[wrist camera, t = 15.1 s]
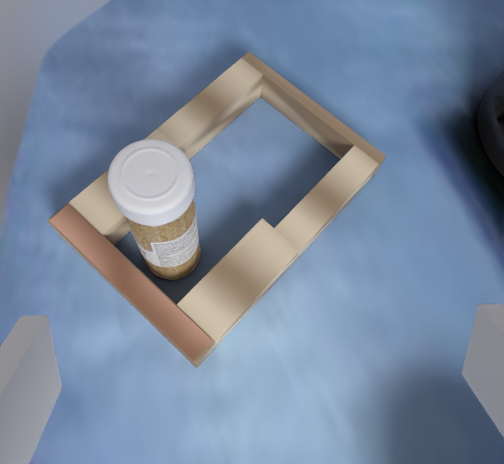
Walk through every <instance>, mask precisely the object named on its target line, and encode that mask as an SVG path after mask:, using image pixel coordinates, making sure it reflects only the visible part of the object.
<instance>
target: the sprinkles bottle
mask: <svg viewBox="0 0 504 464" xmlns="http://www.w3.org/2000/svg"><path fill="white" fill-rule="evenodd" d="M108 187H109V190H110V193H111V195H112V197H113V200H114V202H115V204H116V205H117V207H118V209H119V210H120V211H121V213H122V214H123V215H124V216H125V217H126V219H127V222H128V224H129V227H130V230H131V232H132V235H133V237H134V239H135V241H136V243H137V245H138V247H139V250H140V252H141V253H142V255H143V257H144V261H145V263H146V266H147V267H148V269H149V270H150V271H151V272H152V273H153V274H155V275H156V276H158V277H160V278H164V279H169V280H177V279H180V278H183V277H185V276H187V275H189V274H190V273H191V272H192V271H193V270H194V269H195V268H196V266H197V265H198V263H199V260H200V257H201V247H200V243H199V235H198V225H197V216H196V207H195V203H194V200H193V197H194V193H195V180H194V174H193V169H192V165H191V163H190V161H189V159H188V157H187V156H186V154H185V153H184V152H183V151H182V150H181V149H180V148H179V147H177V146H175V145H174V144H172V143H170V142H167V141H164V140H158V139H145V140H140V141H136V142H134V143H132V144H129V145H128V146H126V147H125V148H123V149H122V150H121V151H120V152H119V153H118V154H117V155H116V156H115V158H114V159H113V161H112V163H111V165H110V167H109V171H108Z"/></svg>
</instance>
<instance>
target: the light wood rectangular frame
mask: <svg viewBox="0 0 504 464" xmlns="http://www.w3.org/2000/svg"><path fill="white" fill-rule="evenodd" d="M259 97H261V98H263V99H264V100H265V101H266V102H268V103H269V104H270V105H272V106H273V107H274V108H275V109H277V110H278V111H279V112H281V113H282V114H283V115H284V116H286V117H287V118H288V119H289V120H291V121H292V122H293V123H295V124H296V125H297V126H298V127H300V128H301V129H302V130H303V131H305V132H306V133H307V134H309V135H310V136H311V137H312V138H314V139H315V140H316V141H318V142H319V143H320V144H321V145H323V146H324V147H325V148H326V149H328V150H329V151H330V152H332V153H333V154H334V155H335V156H337V157H338V158H339V159H341V160H340V161H339V162H338V163H337V164H336V165H335V166H334V167H333V168H332V169H331V170H330V171H329V172H328V173H327V174H326V175H325V176H324V177H323V178H322V180H321V181H320V182H319V183H318V184H317V185H316V186H315V187H314V188H313V189H312V190H311V191H310V192H309V193H308V194H307V195H306V196H305V197H304V198H303V199H302V200H301V201H300V202H299V203H298V204H297V205H296V206H295V207H294V208H293V209H292V210H291V212H290V213H289V214H288V215H287V216H286V217H285V218H284V219H283V220H282V221H281V222H280V223H279V224H278V225H277V226H276V227H275V228H273V227H272V226H271V225H270V224H268V223H267V222H266V221H265V220H264V219H263V218H262V219H261V220H260V221H259V222H258V223H257V224H256V225H255V226H254V227H253V228H252V229H251V230H250V231H249V232H248V233H247V234H246V235H245V236H244V237H243V238H242V239H241V240H240V241H239V242H238V243H237V244H236V245H235V246H234V247H233V248H232V249H231V250H230V251H229V252H228V253H227V254H226V255H225V256H224V257H223V258H222V259H221V260H220V261H219V262H218V263H217V264H216V265H215V266H214V267H213V268H212V269H211V270H210V271H209V273H208V274H207V275H206V276H205V277H204V278H203V279H202V280H201V281H200V282H199V283H198V284H197V285H196V286H195V287H194V288H193V289H192V290H191V291H190V292H189V293H188V294H187V295H186V296H185V297H184V298H183V299H182V300H181V301H180V302H179V303H178V304H177V305H176V304H175V303H174V302H173V301H172V300H171V299H170V298H169V297H168V296H167V295H166V294H165V293H164V292H162V291H161V290H160V289H159V288H158V287H157V286H156V285H155V284H154V283H153V282H152V281H151V280H150V279H149V278H148V277H147V276H146V275H144V274H143V273H142V272H141V271H140V270H139V269H138V268H137V267H136V266H135V265H134V264H133V263H132V262H131V261H130V260H129V259H128V258H126V257H125V256H124V255H123V254H122V253H121V252H120V251H119V250H118V249H117V248H116V247H115V246H114V245H115V244H116V243H118V242H119V241H120V240H121V239H122V238H123V237H124V236H125V235H126V234H127V233H129V232H130V231H131V230H130V227H129V224H128V222H127V219H126V217H125V216H124V215H123V214H122V213H121V211H120V210H119V209H118V207H117V205H116V204H115V202H114V200H113V197H112V195H111V193H110V190H109V187H108V171H109V169H108V170H107V171H106V172H105V173H103V174H102V175H101V176H100V177H99V178H97V179H96V180H95V181H94V182H93V183H91V184H90V185H89V186H88V187H87V188H85V189H84V190H83V191H82V192H81V193H79V194H78V195H77V196H76V197H75V198H74V199H72V200H71V201H70V202H69V203H68V204H66V205H65V206H64V207H63V208H62V209H60V210H59V211H58V212H57V213H56V214H54V215H53V216H52V217H51V218H50V219H48V220H47V221H48V223H49V224H50V225H51V226H52V227H53V228H54V229H55V230H56V232H57V233H58V234H59V235H60V236H61V237H62V238H63V239H64V240H65V241H66V242H67V243H68V244H69V245H70V246H71V247H72V248H73V249H74V250H75V251H76V252H78V253H79V254H80V255H81V256H82V257H83V258H84V259H85V260H86V261H87V262H88V263H89V264H90V265H91V266H92V267H93V268H94V269H95V270H96V271H97V272H98V273H99V274H100V275H101V276H102V277H103V278H104V279H105V280H106V281H107V282H108V283H109V284H110V285H111V286H113V287H114V288H115V289H116V290H117V291H118V292H119V293H120V294H121V295H122V296H123V297H124V298H125V299H126V300H127V301H128V302H129V303H130V304H131V305H132V306H133V307H134V308H135V309H136V310H137V311H138V312H139V313H140V314H141V315H142V316H143V317H144V318H145V319H147V320H148V321H149V322H150V323H151V324H152V325H153V326H154V327H155V328H156V329H157V330H158V331H159V332H160V333H161V334H162V335H163V336H164V337H165V338H166V339H167V340H168V341H169V342H170V343H171V344H172V345H173V346H174V347H175V348H176V349H177V350H178V351H179V352H180V353H182V354H183V355H184V356H185V357H186V358H187V359H188V360H189V361H190V362H191V363H192V364H193V365H194V366H195V367H196V368H197V367H198V366H199V365H200V364H201V363H202V362H203V361H204V359H205V358H206V357H207V356H208V355H209V354H210V353H211V352H212V351H213V350H214V349H215V348H216V346H217V345H218V344H219V343H220V342H221V341H222V340H223V339H224V338H225V337H226V336H227V334H228V333H229V332H230V331H231V330H232V329H233V328H234V327H235V326H236V325H237V324H238V323H239V321H240V320H241V319H242V318H243V317H244V316H245V315H246V314H247V313H248V312H249V311H250V309H251V308H252V307H253V306H254V305H255V304H256V303H257V302H258V301H259V300H260V299H261V297H262V296H263V295H264V294H265V293H266V292H267V291H268V290H269V289H270V288H271V287H272V286H273V284H274V283H275V282H276V281H277V280H278V279H279V278H280V277H281V276H282V275H283V274H284V272H285V271H286V270H287V269H288V268H289V267H290V266H291V265H292V264H293V263H294V262H295V261H296V259H297V258H298V257H299V256H300V255H301V254H302V253H303V252H304V251H305V250H306V249H307V247H308V246H309V245H310V244H311V243H312V242H313V241H314V240H315V239H316V238H317V237H318V236H319V234H320V233H321V232H322V231H323V230H324V229H325V228H326V227H327V226H328V225H329V224H330V222H331V221H332V220H333V219H334V218H335V217H336V216H337V215H338V214H339V213H340V212H341V211H342V209H343V208H344V207H345V206H346V205H347V204H348V203H349V202H350V201H351V200H352V199H353V197H354V196H355V195H356V194H357V193H358V192H359V191H360V190H361V189H362V188H363V187H364V185H365V184H366V183H367V182H368V181H369V180H370V179H371V178H372V177H373V176H374V175H375V173H376V172H377V170H378V169H379V167H380V165H381V164H382V162H383V161H384V159H385V158H386V156H385V155H384V154H383V153H381V152H380V151H379V150H378V149H376V148H375V147H374V146H372V145H371V144H370V143H368V142H367V141H366V140H364V139H363V138H362V137H361V136H359V135H358V134H357V133H355V132H354V131H353V130H351V129H350V128H349V127H347V126H346V125H345V124H343V123H342V122H341V121H340V120H338V119H337V118H336V117H334V116H333V115H332V114H330V113H329V112H328V111H326V110H325V109H324V108H322V107H321V106H320V105H319V104H317V103H316V102H315V101H313V100H312V99H311V98H309V97H308V96H307V95H305V94H304V93H303V92H301V91H300V90H299V89H298V88H296V87H295V86H294V85H292V84H291V83H290V82H288V81H287V80H286V79H284V78H283V77H282V76H281V75H279V74H278V73H277V72H275V71H274V70H273V69H271V68H270V67H269V66H267V65H266V64H265V63H263V62H262V61H261V60H260V59H258V58H257V57H256V56H254V55H253V54H252V53H250V52H248V53H247V54H245V55H244V56H243V57H242V58H241V59H239V60H238V61H237V62H236V63H235V64H233V65H232V66H231V67H230V68H229V69H227V70H226V71H225V72H224V73H223V74H222V75H220V76H219V77H218V78H217V79H216V80H214V81H213V82H212V83H211V84H210V85H208V86H207V87H206V88H205V89H204V90H202V91H201V92H200V93H199V94H198V95H196V96H195V97H194V98H193V99H192V100H190V101H189V102H188V103H187V104H186V105H185V106H183V107H182V108H181V109H180V110H179V111H177V112H176V113H175V114H174V115H173V116H171V117H170V118H169V119H168V120H167V121H165V122H164V123H163V124H162V125H161V126H159V127H158V128H157V129H156V130H155V131H153V132H152V133H151V134H150V135H149V136H148V137H146V138H145V139H158V140H164V141H167V142H170V143H172V144H174V145H175V146H177V147H179V148H180V149H181V150H182V151H183V152H184V153H185V154H186V156H187V157H188V159H189V161H190V159H191V158H192V157H193V156H194V155H195V154H196V153H197V152H198V151H200V150H201V149H202V148H203V147H204V146H205V145H206V144H207V143H209V142H210V141H211V140H212V139H213V138H214V137H215V136H216V135H217V134H219V133H220V132H221V131H222V130H223V129H224V128H225V127H226V126H228V125H229V124H230V123H231V122H232V121H233V120H234V119H235V118H237V117H238V116H239V115H240V114H241V113H242V112H243V111H244V110H246V109H247V108H248V107H249V106H250V105H251V104H252V103H253V102H255V101H256V100H257V99H258V98H259ZM145 139H144V140H145ZM190 163H191V161H190Z"/></svg>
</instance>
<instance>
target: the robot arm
mask: <svg viewBox="0 0 504 464" xmlns="http://www.w3.org/2000/svg"><path fill="white" fill-rule="evenodd" d="M477 123H478V131H479V136H480V140H481V142H482V145H483V148H484V150H485V152H486V154H487V156H488V157H489V159H490V161H491V162H492V163H493V165H494V166H495V167H496V169H497V170H498V171H499V172H500V173H501V174H502V176H503V177H504V71H503V72H502V73H501V74H500V75H499V76H498V78H497V79H496V80H495V81H494V82H493V84H492V85H491V86H490V87H489V89H488V90H487V91H486V93H485V94H484V96H483V98H482V100H481V103H480V106H479V110H478V118H477ZM462 376H463V377H464V379H465V380H466V382H467V383H468V385H469V386H470V388H471V389H472V391H473V392H474V394H475V395H476V397H477V398H478V400H479V401H480V403H481V404H482V406H483V407H484V409H485V410H486V412H487V413H488V415H489V416H490V418H491V419H492V421H493V422H494V424H495V425H496V427H497V428H498V430H499V431H500V433H501V434H502V436H503V437H504V305H503V304H478V307H477V312H476V316H475V320H474V324H473V328H472V333H471V337H470V341H469V345H468V349H467V353H466V358H465V362H464V366H463V370H462ZM61 389H62V385H61V380H60V375H59V370H58V365H57V360H56V355H55V350H54V345H53V340H52V335H51V331H50V326H49V321H48V316H47V315H46V316H21V317H20V318H19V320H18V321H17V323H16V324H15V326H14V327H13V329H12V330H11V332H10V333H9V335H8V336H7V338H6V339H5V341H4V342H3V344H2V345H1V347H0V464H29V463H30V461H31V459H32V456H33V454H34V452H35V449H36V447H37V445H38V442H39V440H40V438H41V435H42V433H43V431H44V428H45V426H46V424H47V421H48V419H49V417H50V414H51V412H52V410H53V408H54V405H55V403H56V401H57V398H58V396H59V394H60V391H61Z"/></svg>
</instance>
